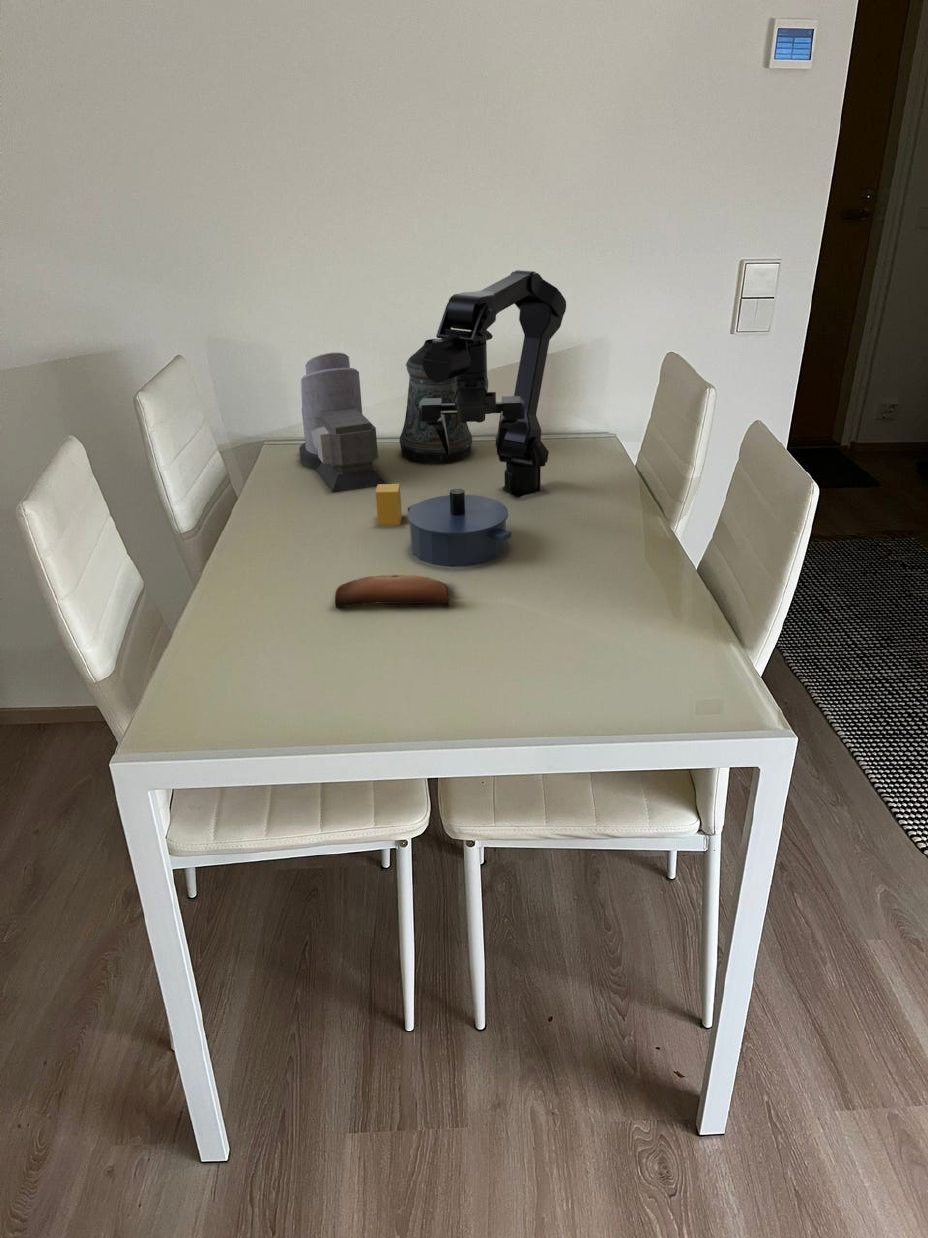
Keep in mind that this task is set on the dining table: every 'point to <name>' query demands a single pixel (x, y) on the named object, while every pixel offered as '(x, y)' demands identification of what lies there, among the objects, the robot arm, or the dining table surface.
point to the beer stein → (418, 436)
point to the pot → (458, 546)
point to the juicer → (337, 425)
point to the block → (388, 504)
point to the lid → (457, 514)
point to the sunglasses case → (391, 590)
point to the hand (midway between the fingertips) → (472, 454)
